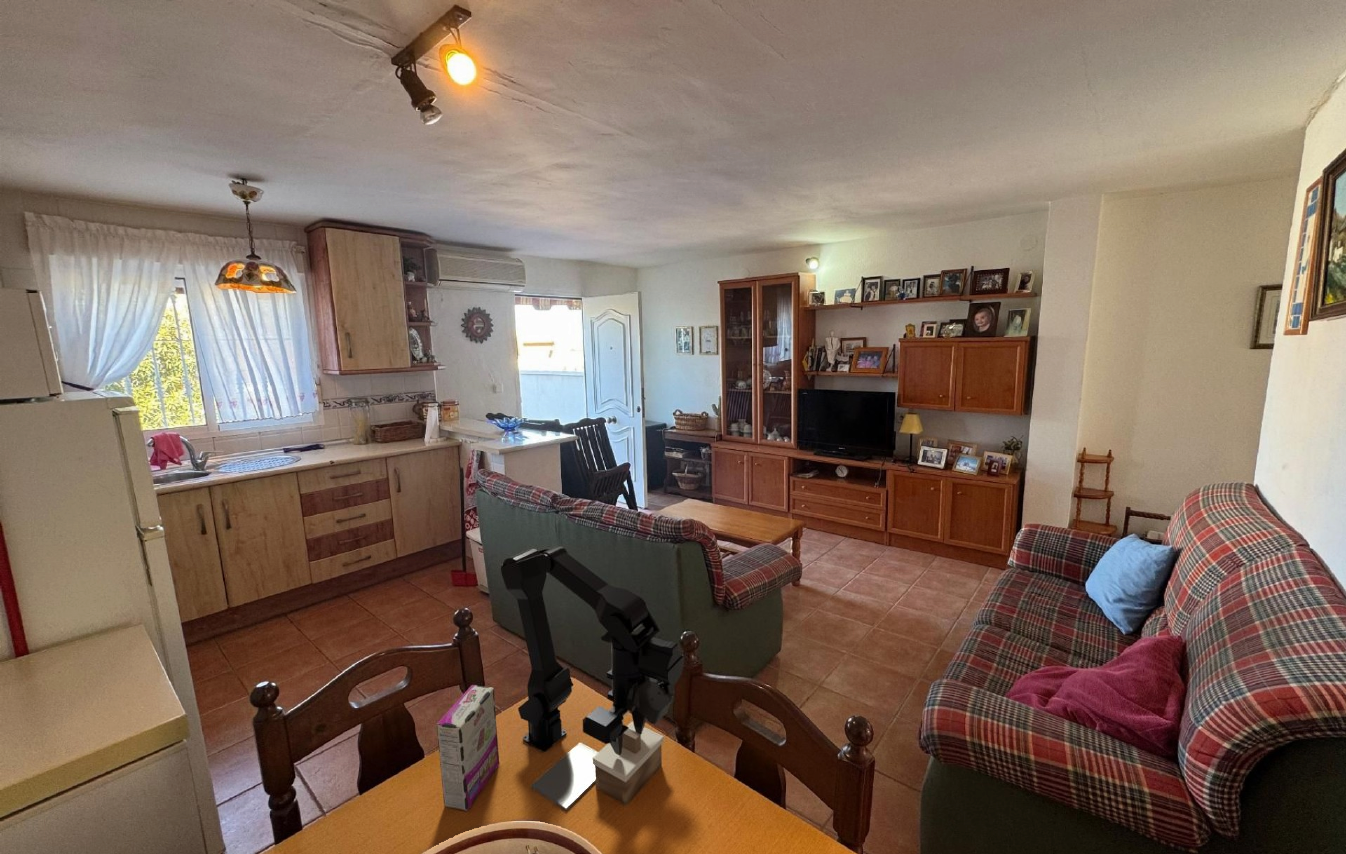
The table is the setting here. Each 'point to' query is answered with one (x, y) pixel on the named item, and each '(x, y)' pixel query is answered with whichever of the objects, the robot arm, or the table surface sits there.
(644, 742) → the lid
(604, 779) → the box
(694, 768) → the table surface
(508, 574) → the robot arm
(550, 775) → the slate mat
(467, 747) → the candy bar box
